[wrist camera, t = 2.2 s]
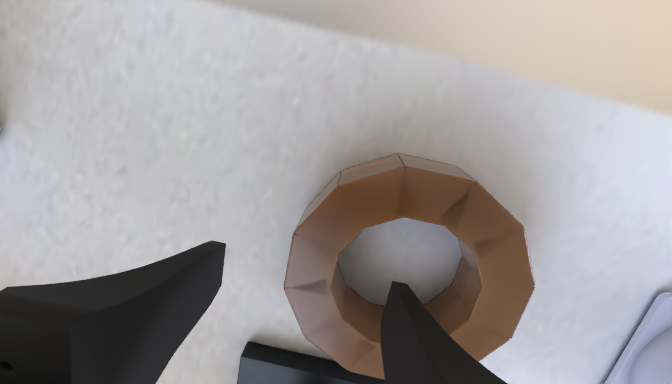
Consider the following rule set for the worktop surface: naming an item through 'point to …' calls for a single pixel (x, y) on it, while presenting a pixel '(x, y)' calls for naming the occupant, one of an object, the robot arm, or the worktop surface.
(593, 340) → the worktop surface
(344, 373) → the rack
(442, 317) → the ring
